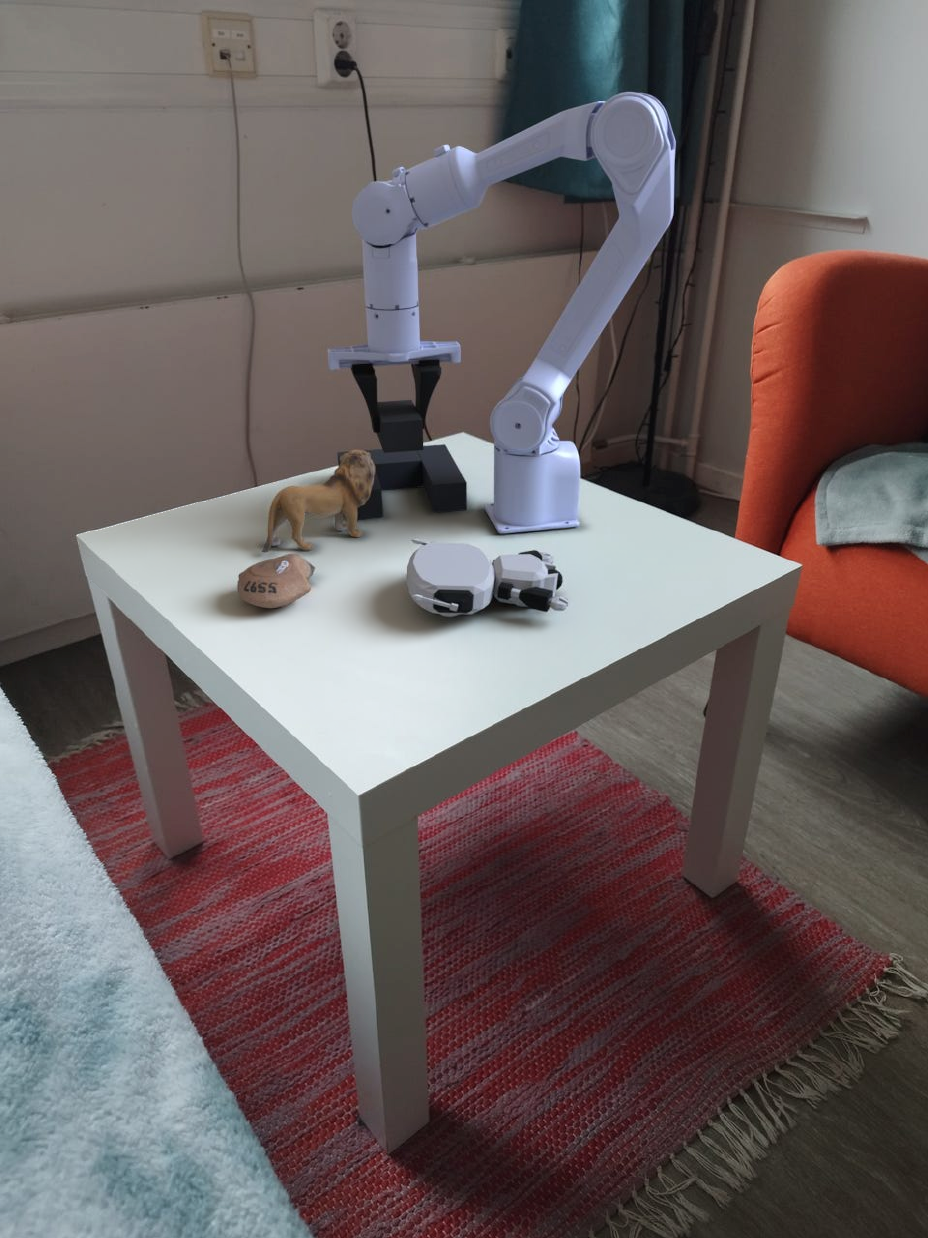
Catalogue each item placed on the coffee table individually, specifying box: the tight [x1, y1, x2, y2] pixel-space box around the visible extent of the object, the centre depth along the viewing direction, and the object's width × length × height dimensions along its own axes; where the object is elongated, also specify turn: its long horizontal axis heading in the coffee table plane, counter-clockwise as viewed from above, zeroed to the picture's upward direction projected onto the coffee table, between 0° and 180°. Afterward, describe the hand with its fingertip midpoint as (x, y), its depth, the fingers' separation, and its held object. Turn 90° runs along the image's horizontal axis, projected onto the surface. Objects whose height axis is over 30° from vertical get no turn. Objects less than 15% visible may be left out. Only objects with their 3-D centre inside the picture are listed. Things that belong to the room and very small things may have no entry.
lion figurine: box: [261, 448, 376, 554], centre depth 98 cm, size 15×5×9 cm, turn 130°
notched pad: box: [337, 443, 468, 520], centre depth 111 cm, size 14×14×4 cm
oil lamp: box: [236, 553, 316, 609], centre depth 88 cm, size 9×4×8 cm
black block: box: [375, 399, 424, 453], centre depth 103 cm, size 4×8×4 cm, turn 12°
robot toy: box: [405, 538, 570, 618], centre depth 86 cm, size 12×4×15 cm
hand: (397, 428), depth 103 cm, fingers closed on black block, 4 cm apart
